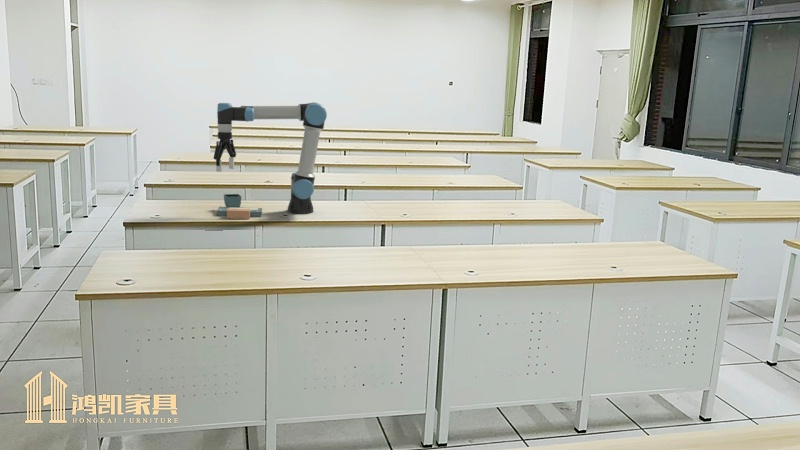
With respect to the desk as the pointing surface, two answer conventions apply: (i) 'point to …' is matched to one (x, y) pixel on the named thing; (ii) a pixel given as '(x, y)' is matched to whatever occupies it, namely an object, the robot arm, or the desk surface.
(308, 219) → the desk surface
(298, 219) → the desk surface
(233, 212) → the pink rectangular block
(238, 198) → the flower pot
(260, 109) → the robot arm
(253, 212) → the blue-grey flat slab
